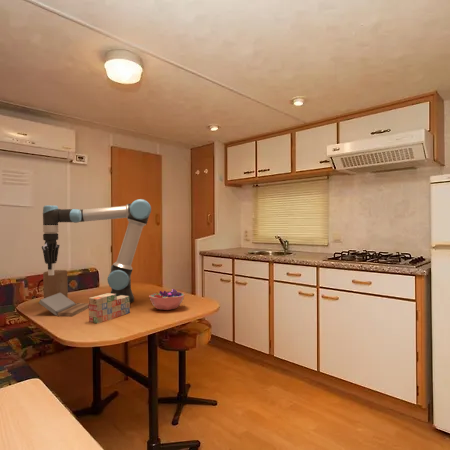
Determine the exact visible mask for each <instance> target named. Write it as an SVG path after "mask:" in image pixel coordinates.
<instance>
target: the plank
mask: <svg viewBox="0 0 450 450" xmlns="http://www.w3.org/2000/svg"><path fill="white" fill-rule="evenodd" d="M38 304H39V305H41V306H42V307H43V308H45V309H46V310H48V312H50V313H52V314H53V315H54V316H57V317H58V312H60V311H62V310H64V309H66V308H69V307H71V306H73V305H75V304H77V303H76V302H74V301H73V300H72V299H70V298H69V297H68V298H67V297H66V296H65V295H63V294H62V293H58V294H55V295H52V296H49V297H47V298H44V297H43V298H42V299H40V300H39V302H38Z"/></svg>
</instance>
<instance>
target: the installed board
mask: <svg viewBox="0 0 450 450" xmlns="http://www.w3.org/2000/svg"><path fill="white" fill-rule="evenodd" d="M86 310H89V302H87V303H83V302H78V303H76V304H75V305H73V306H71V307H69V308H66V309H64V310H62V311H60V312H58V315H57V317H61V318H62V317H68V318H69V317H74V316H76V315H78V314H80V313H82V312H84V311H86Z"/></svg>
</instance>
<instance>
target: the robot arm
mask: <svg viewBox="0 0 450 450" xmlns="http://www.w3.org/2000/svg"><path fill="white" fill-rule="evenodd" d="M151 213H152V206H151V204H150V203H149V202H148V201H147V200H146V199H143V198H140V199H135V200H134V201H132V203H126V204H125V205H120V206H119V205H117V206H108V207H107V206H105V207H95V208H93V207H92V208H86V209H85V208H84V209H79V208H78V209H77V208H67V209H66V208H59V206H58V205H51V204H50V205H44V206H43V207H42V232H43V234H42V240H43V241H44V245H43V246H41V250H42V253H43V259H44V263H45V264H46V265H47V271H48V275H54V270H55V264H56V263H57V262H58V256H59V249H60V244H58V242H57V241H58V240H59V223H75V224H77V223H84V222H92V221H93V222H95V221H104V220H105V221H106V220H116V219H125V218H126V219H127V222H128V224H127V227H126V231H125V234H124V237H123V239H122V243H121V247H120V250H119V253H118V256H117V258H116V261H115V262H114V263H112V265H111V266H110V272H109V274H108V276H107V284H108V285H109V288H111V289H110V293H112V294H116V296H120V295H124V296H129V302H130V303H133V302H134V301H135V296H134V293H133V290H132V286H131V285H132V283H131V282H132V281H131V280H132V279H131V278H132V272H133V266H132V264H133V260H134V257H135V254H136V251H137V247H138V244H139V241H140V238H141V234H142V232H143V229H144V226H146V225H147V224H148V223H149V222H148V221H149V218H150V215H151Z"/></svg>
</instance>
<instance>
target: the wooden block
mask: <svg viewBox="0 0 450 450" xmlns="http://www.w3.org/2000/svg"><path fill="white" fill-rule="evenodd" d="M42 275H43V276H42V278H43V280H42V282H43V285H42V286H43V299H44V298H47V297H49V296H52V295H55V294H58V293H62V294H63V295H65V296H66V297H67V298H69V292H68V291H69V290H68V288H69V286H68V270H66V269H54V275H48V270H47V271H44V272H43V274H42Z"/></svg>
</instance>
